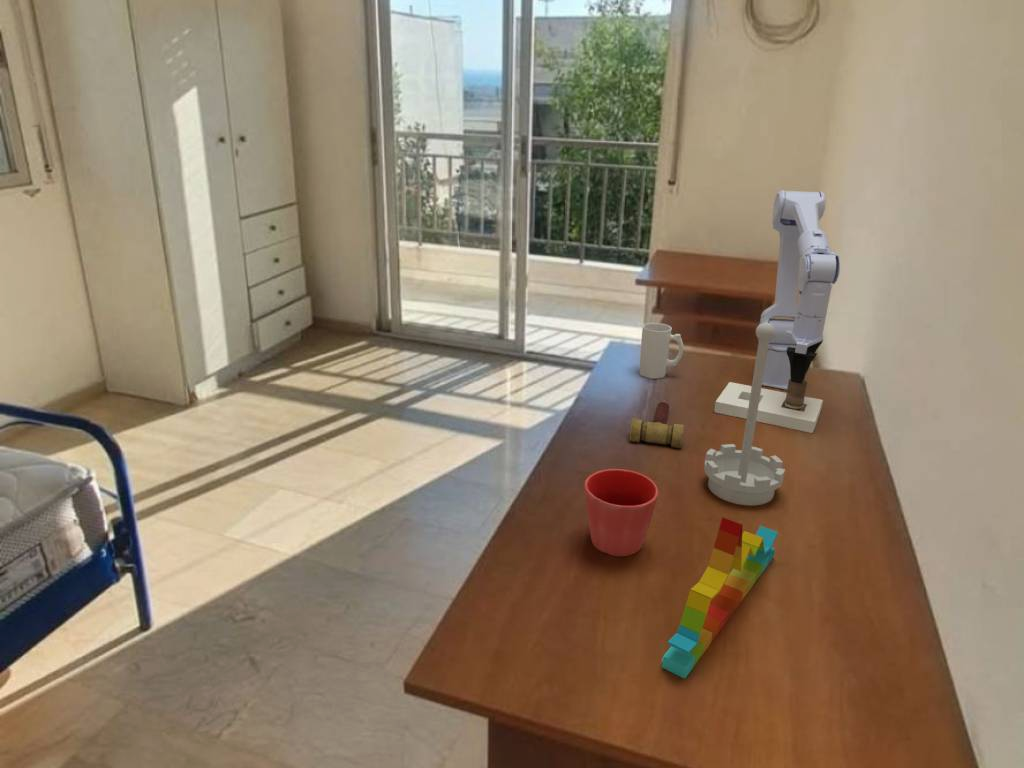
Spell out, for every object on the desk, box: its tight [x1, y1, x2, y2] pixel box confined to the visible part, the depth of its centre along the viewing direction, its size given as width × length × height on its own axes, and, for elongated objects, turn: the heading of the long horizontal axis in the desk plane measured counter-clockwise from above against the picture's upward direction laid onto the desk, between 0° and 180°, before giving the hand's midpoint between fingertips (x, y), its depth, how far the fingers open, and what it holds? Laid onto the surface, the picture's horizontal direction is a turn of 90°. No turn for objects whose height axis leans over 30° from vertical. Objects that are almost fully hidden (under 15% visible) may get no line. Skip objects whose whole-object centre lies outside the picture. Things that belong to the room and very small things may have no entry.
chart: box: [661, 517, 779, 679], centre depth 94 cm, size 30×3×15 cm, turn 143°
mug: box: [639, 322, 685, 380], centre depth 172 cm, size 10×7×12 cm, turn 69°
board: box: [713, 381, 824, 434], centre depth 156 cm, size 13×20×2 cm, turn 62°
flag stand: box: [703, 323, 786, 506], centre depth 120 cm, size 13×13×30 cm
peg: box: [785, 379, 808, 411], centre depth 152 cm, size 4×4×8 cm
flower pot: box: [583, 468, 659, 557], centre depth 108 cm, size 11×11×10 cm
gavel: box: [629, 400, 685, 449], centre depth 148 cm, size 21×5×10 cm
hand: (799, 376), depth 150 cm, fingers open, 7 cm apart
